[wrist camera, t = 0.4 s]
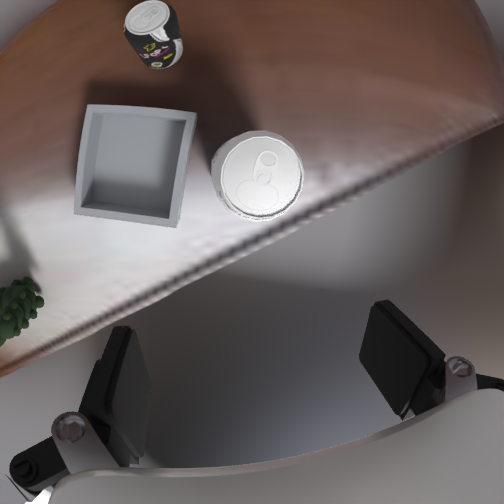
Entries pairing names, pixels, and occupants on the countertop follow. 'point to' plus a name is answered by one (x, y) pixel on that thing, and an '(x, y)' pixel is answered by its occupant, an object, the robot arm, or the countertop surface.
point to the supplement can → (257, 175)
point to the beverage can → (154, 33)
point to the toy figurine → (17, 308)
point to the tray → (134, 163)
